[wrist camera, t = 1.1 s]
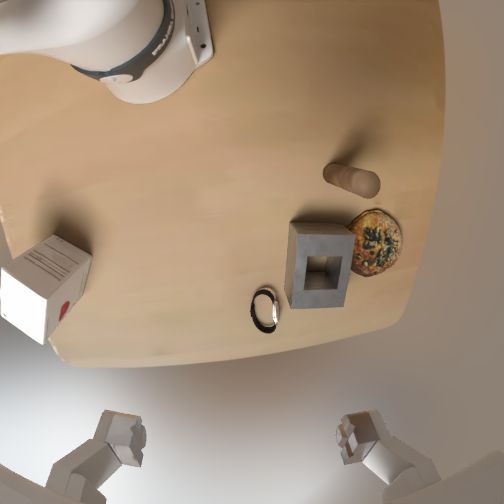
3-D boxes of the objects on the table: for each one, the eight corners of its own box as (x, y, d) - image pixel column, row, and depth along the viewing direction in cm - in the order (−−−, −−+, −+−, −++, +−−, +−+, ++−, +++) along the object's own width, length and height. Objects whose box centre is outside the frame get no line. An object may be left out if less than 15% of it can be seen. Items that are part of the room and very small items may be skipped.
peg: (323, 162, 39) (357, 169, 28) (342, 164, 39) (381, 172, 28) (322, 183, 40) (354, 197, 29) (341, 184, 40) (378, 199, 29)
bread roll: (335, 275, 45) (348, 285, 40) (341, 206, 43) (356, 209, 38) (390, 273, 46) (406, 282, 42) (398, 211, 44) (415, 214, 39)
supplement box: (83, 297, 44) (43, 347, 30) (45, 274, 42) (-1, 316, 28) (94, 255, 41) (47, 300, 27) (53, 232, 39) (-1, 266, 25)
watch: (280, 323, 48) (284, 336, 45) (253, 328, 48) (255, 341, 45) (275, 284, 45) (279, 295, 42) (246, 289, 45) (247, 301, 42)
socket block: (289, 222, 42) (298, 233, 36) (340, 223, 42) (355, 235, 37) (284, 289, 45) (290, 309, 40) (331, 288, 46) (343, 306, 40)
